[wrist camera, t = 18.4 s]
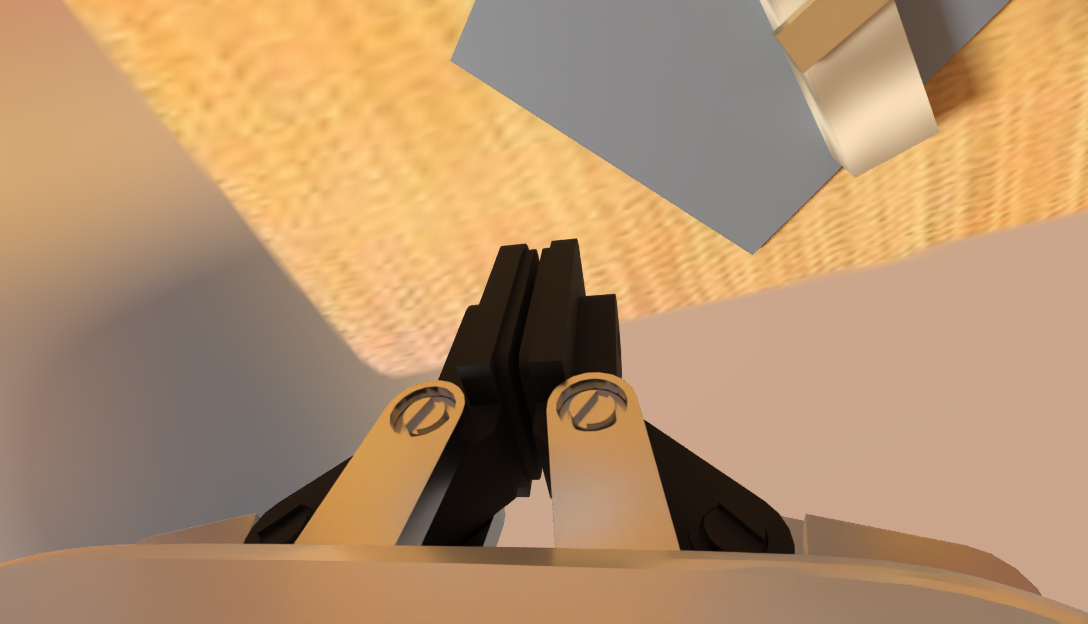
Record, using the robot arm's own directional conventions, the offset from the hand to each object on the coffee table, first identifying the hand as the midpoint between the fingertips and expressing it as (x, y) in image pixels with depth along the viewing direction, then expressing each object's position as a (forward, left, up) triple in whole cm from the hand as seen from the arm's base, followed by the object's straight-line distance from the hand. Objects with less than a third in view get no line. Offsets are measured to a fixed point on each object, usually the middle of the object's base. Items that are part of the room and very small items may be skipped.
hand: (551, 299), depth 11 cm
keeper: (-10, +8, -24) cm, 28 cm away
